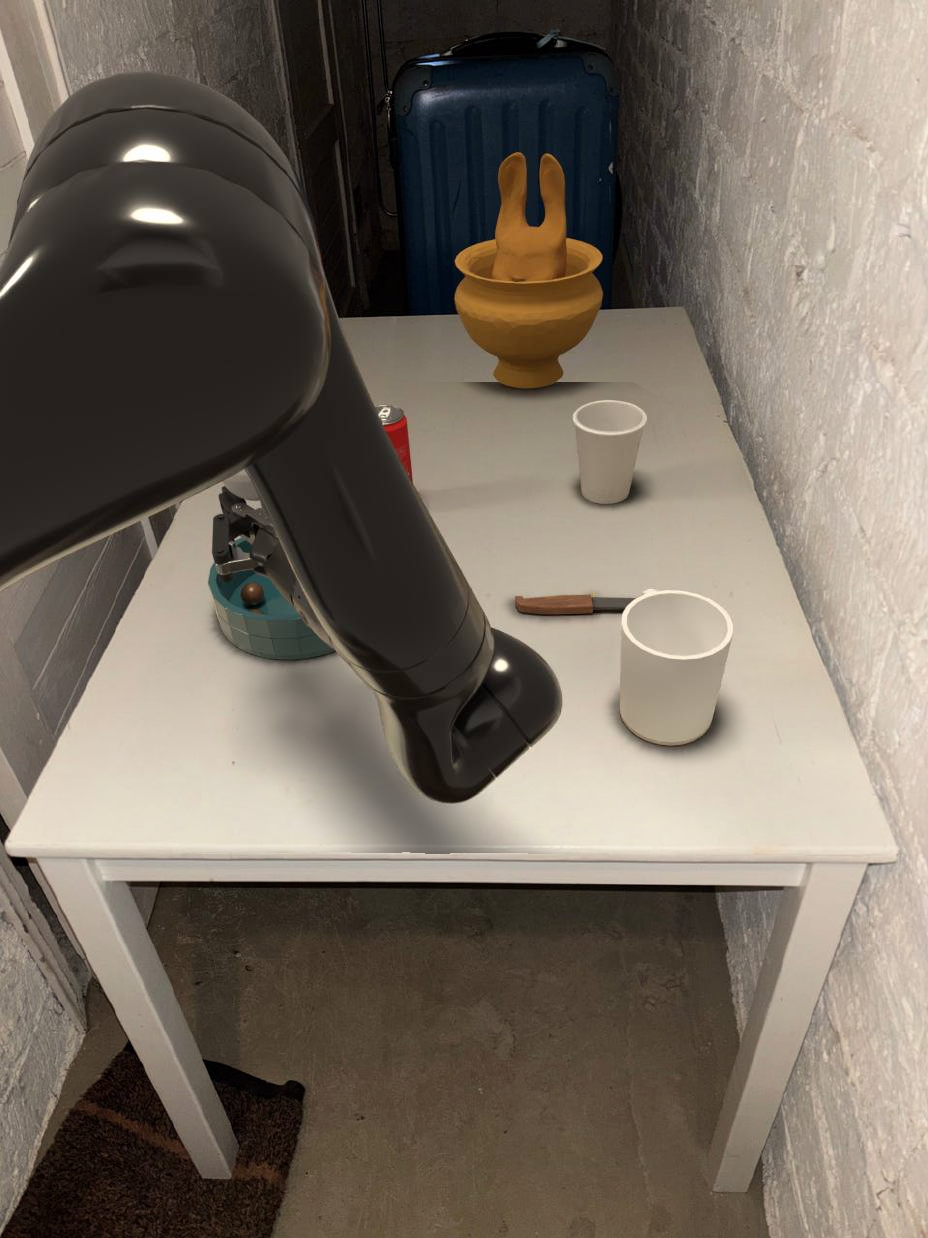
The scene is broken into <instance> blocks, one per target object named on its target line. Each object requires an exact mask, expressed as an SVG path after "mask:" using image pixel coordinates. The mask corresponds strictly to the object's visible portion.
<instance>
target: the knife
mask: <svg viewBox="0 0 928 1238" xmlns="http://www.w3.org/2000/svg"><path fill="white" fill-rule="evenodd" d="M636 598H637V597H605V596H603V597H602V596H595V590H591V594H588V593H587V594H559V595H548V596H537V597H523V596H522V595H515V596H514V604H515V606H516V609H517V610H518V611H519V612H520V613H521V612H522V613H527V614H535V615H537V614H538V615H571V614H572V615H573V614H575V615H577V614H593V611H594V610H602V611H603V610H625V608H626V607H627V606H628V605H629V604H630V603H631V602H632V601H633V600H634V599H636Z"/></svg>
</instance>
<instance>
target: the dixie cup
mask: <svg viewBox="0 0 928 1238" xmlns="http://www.w3.org/2000/svg"><path fill="white" fill-rule="evenodd" d="M572 421H573V424H574V427H575V437H576V439H575V440H576V447H577V457H578V458H577V459H578V467H579V478H580V486H581V487H580V489H581V490H580V491H581V494H582V496H583V497H584V498H585V499H586V500H588V501H590V502H592V503H595V504H600V505H601V504H602V505H613V504H617V503H621V502H622V501H624V500H626V499H627V498H628V496H630V495H629V494H630V489H631V486H632V482H633V476H634V473H635V469H636V468H635V467H636V463H637V458H638V454H639V448H640V445H641V440H642V437H643V430H644V427H645V425H646V424H647V421H648V416H647V414H646V413H645V411H644V410H643V409H642V408H640V407H639V406H638V405H635V404H633V403H630V402H628V401H623V400H617V399H616V400H614V399H603V400H596V401H595V400H594V401H591V402H588V403H585V404H583V405H581V406H580V407H578V408H577V409H576V410H574V412H573V415H572Z"/></svg>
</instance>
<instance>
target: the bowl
mask: <svg viewBox="0 0 928 1238" xmlns="http://www.w3.org/2000/svg"><path fill="white" fill-rule="evenodd" d="M235 545H236V546H237V547H240V548H241V549H242V551H243V552H246V553H249V552H250V549H251V547H252V544H251V543H250V542H248V541H247V540H245V539H243V538H242V537H239V538H236V539H235ZM248 583H257V584H259V585H260V586H261V587H262V588H263V590H264V598H263V600H262V602H261V603H259V604H258V605H255V606H250V605H247V604H246V603H244V602H243V600H242V598H241V590H242V588H243V587H244V586H245V585H246V584H248ZM207 586H208V588H209V593H210V595H211V599H212V602H213V606H214V609H215V613H216V616H217V617H216V618H217V619H218V620H217V621H218V622H219V625H220V629H221V631H222V633H223V635H224V636H225V637H226V639H227V640H228V641H229V642H230V643H231V644H233V645H234V646H235V647H237V648H238V649H239V650H241V651H243V652H245V653H248V654H250V655H254V656H257V657H260V658H265V659H271V660H280V661H281V660H282V661H285V660H287V661H289V660H291V661H293V660H305V659H311V658H317V657H321V656H325V655H329V654H331V653H333V652H336V651H335V650H334V649H333V648H332V647H330V646H329V645H328V644H326V643H325V642H324V641H323V640H322V639H321V638H319V637H318V635H317V634H316V633H315V632H314V631H313V630H312V629H311V628H310V627H308V626H307V625H306V624H305V623H304V622H303V620H302V619H301V617H300V615H299V614H298V613H297V612H296V611H295V609H294V608H293V607H292V606H291V605H290V604H289V602H288V601H287V600H286V599H285V598H284V597H283V596H282V594H281V593H280V592H279V591H278V590H277V589H276V587H275V586H274V584H273V583H272V582H271V580H270V579H269V578H267V577H264V576H261V575H258V574H257V573H256V572H255V571H254V570H253V569H251V570H244V571H238V572H235V579H234V580H233V581H231V582H227V583H223V582H220V581H219V577H218V574H217V570H216V567H215V563H214V562H213V563H212V565H211V567H210V569H209V574H208V580H207ZM253 609H256V610H260V611H262V612H263V613H264V614H265V615H264V614H258V613H253V612H248V611H250V610H253Z"/></svg>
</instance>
